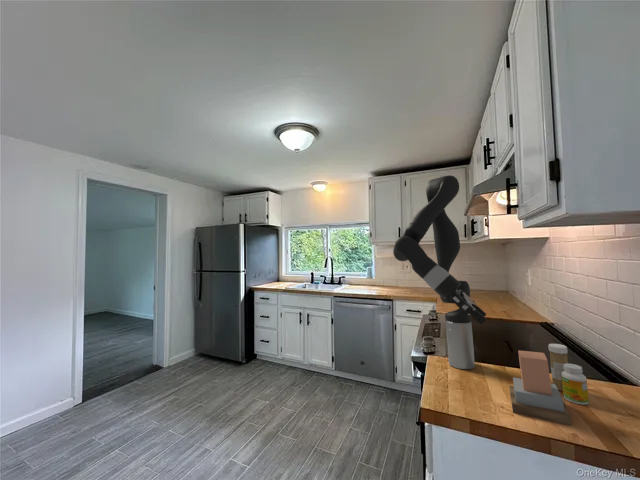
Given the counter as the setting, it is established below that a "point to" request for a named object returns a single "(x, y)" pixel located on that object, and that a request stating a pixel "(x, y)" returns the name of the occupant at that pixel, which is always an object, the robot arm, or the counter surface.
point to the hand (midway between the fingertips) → (484, 319)
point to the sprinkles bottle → (558, 363)
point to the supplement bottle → (574, 384)
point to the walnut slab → (540, 411)
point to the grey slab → (538, 397)
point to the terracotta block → (535, 372)
